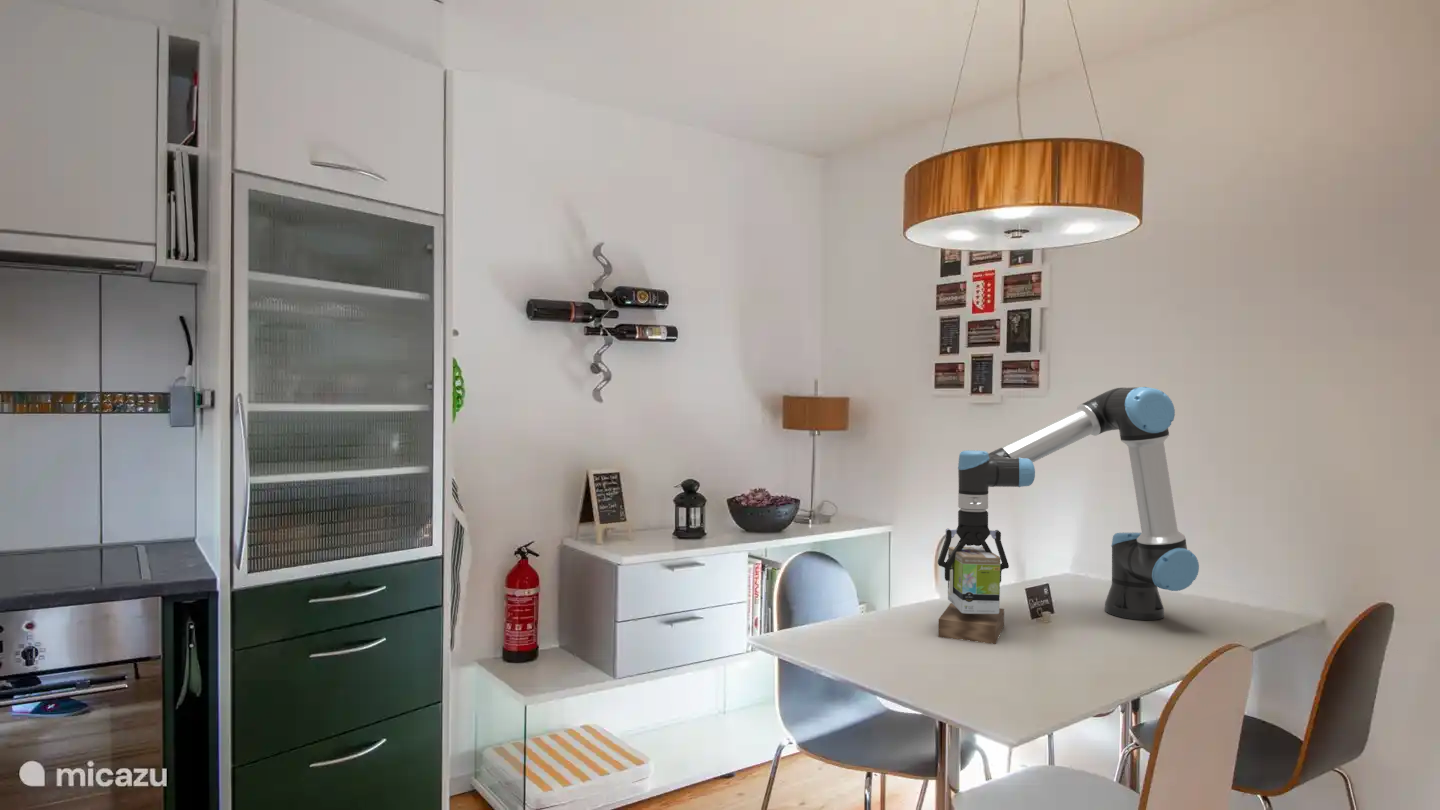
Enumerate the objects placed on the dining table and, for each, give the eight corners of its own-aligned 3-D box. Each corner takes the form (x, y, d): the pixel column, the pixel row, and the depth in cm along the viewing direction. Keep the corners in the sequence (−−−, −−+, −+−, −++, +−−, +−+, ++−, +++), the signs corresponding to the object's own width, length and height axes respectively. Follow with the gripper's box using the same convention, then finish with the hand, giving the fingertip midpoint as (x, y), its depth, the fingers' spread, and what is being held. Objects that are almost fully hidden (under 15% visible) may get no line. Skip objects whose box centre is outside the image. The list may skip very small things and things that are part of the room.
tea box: (1001, 614, 211) (1001, 556, 210) (961, 614, 211) (961, 556, 211) (984, 600, 226) (984, 545, 225) (946, 599, 226) (946, 545, 226)
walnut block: (1004, 627, 224) (1004, 608, 224) (995, 645, 207) (995, 625, 207) (950, 621, 230) (950, 603, 230) (938, 638, 213) (938, 619, 213)
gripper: (929, 510, 216) (929, 595, 216) (1021, 512, 213) (1021, 599, 213) (926, 506, 224) (926, 588, 224) (1016, 508, 220) (1015, 592, 220)
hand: (972, 594), depth 218 cm, fingers closed on tea box, 10 cm apart
